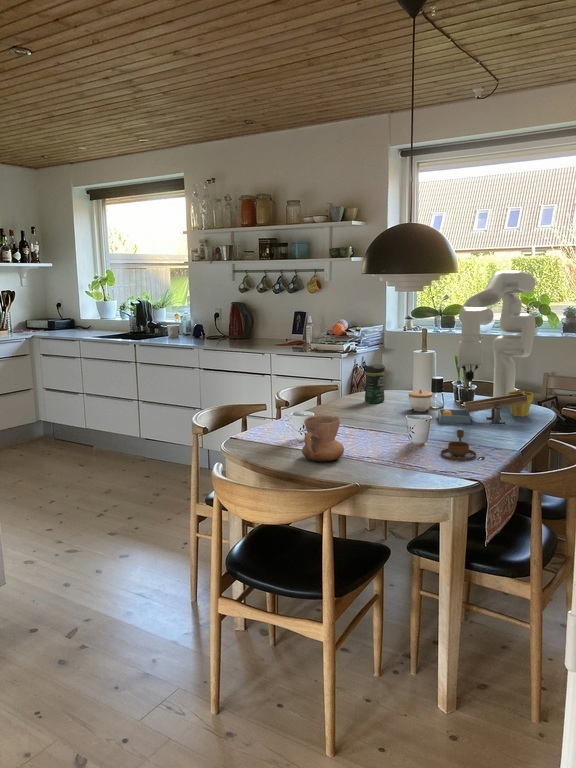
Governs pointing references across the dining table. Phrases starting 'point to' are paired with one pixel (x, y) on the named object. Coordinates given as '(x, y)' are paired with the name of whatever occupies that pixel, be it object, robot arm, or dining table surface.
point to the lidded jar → (420, 400)
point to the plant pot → (522, 408)
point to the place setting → (459, 449)
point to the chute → (496, 402)
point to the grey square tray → (454, 417)
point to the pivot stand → (495, 415)
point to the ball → (447, 413)
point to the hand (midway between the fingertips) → (469, 380)
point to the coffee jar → (374, 383)
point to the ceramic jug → (322, 438)
